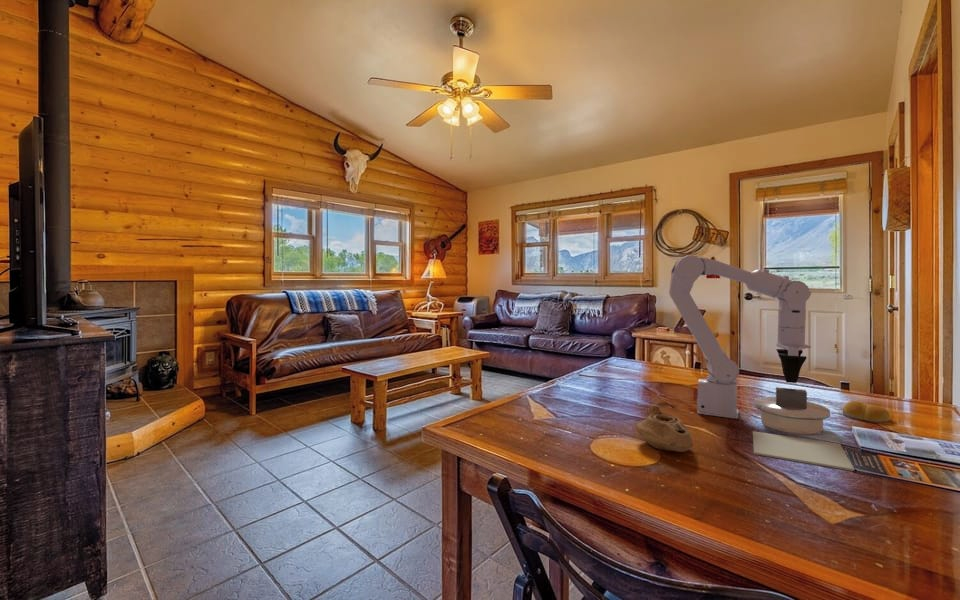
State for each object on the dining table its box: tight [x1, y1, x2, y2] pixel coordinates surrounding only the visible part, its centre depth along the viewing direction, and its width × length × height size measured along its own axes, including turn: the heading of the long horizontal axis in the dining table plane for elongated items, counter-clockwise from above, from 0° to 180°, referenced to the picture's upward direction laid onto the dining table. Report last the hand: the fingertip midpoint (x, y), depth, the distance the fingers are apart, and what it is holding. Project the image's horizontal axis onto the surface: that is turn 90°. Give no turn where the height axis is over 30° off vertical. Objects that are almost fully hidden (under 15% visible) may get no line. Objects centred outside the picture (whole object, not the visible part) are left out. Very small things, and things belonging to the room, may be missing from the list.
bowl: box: [760, 410, 824, 436], centre depth 105 cm, size 12×12×4 cm
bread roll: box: [842, 400, 891, 423], centre depth 110 cm, size 8×9×4 cm
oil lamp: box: [636, 403, 694, 453], centre depth 93 cm, size 11×15×8 cm
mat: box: [752, 430, 855, 472], centre depth 91 cm, size 16×14×1 cm
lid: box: [754, 386, 831, 420], centre depth 105 cm, size 15×15×5 cm
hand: (789, 379), depth 110 cm, fingers open, 7 cm apart
